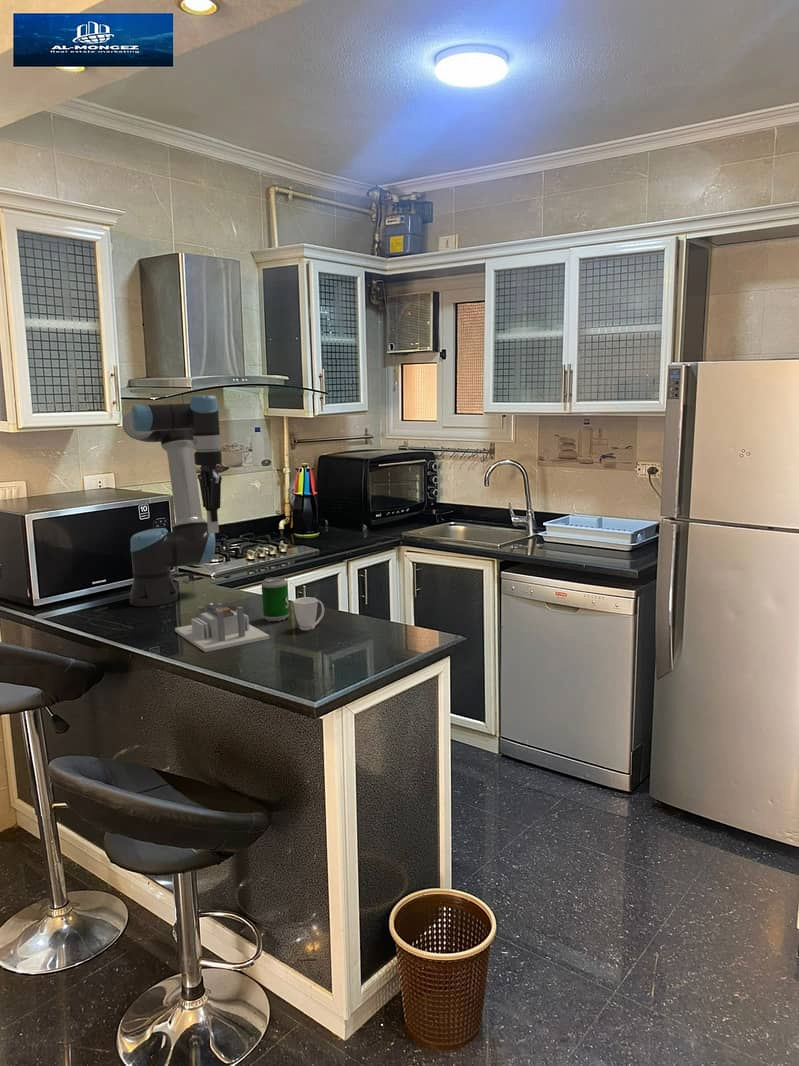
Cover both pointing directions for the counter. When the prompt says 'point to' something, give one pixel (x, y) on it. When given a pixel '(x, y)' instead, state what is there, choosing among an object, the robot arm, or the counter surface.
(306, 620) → the cup
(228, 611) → the lever
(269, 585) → the soda can
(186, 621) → the counter surface
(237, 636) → the heatsink base
